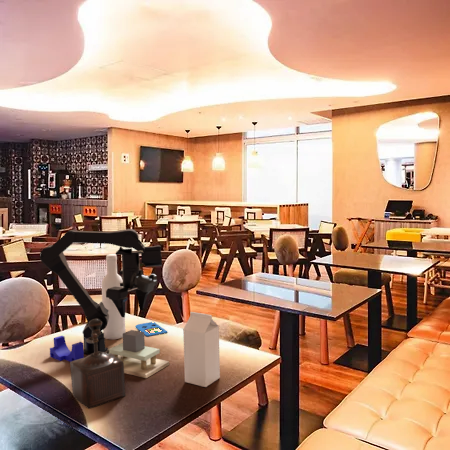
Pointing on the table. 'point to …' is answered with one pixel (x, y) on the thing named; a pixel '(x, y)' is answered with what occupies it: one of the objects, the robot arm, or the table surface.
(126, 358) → the plate
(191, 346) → the milk carton
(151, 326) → the handheld gaming device
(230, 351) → the table surface
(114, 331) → the bottle
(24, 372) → the table surface
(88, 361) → the pepper mill
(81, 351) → the cable clip
